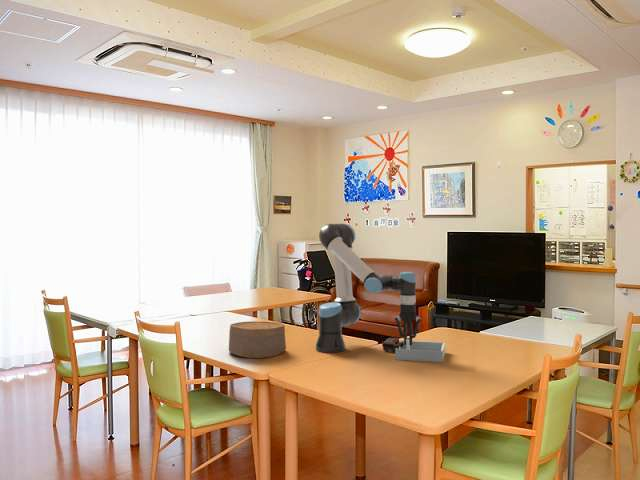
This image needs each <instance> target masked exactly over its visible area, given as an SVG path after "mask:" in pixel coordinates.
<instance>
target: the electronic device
mask: <svg viewBox="0 0 640 480" xmlns="http://www.w3.org/2000/svg"><path fill="white" fill-rule="evenodd" d="M381 346H382V349H383V351H385V352H390V353H393V352H394V353H395V349H396V348H398V349H400V347H403V343H401V342H400V338H396V337H388V338H387V339H385V340H384V341H383V342H382V343H381Z"/></svg>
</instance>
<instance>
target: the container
mask: <svg viewBox="0 0 640 480" xmlns="http://www.w3.org/2000/svg"><path fill="white" fill-rule="evenodd" d="M285 327H286V326H285V324H284V323H281V322H280V323H279V322H271V321H270V322H269V321H239V322H234V323H231V324H230V326H229V335H228V336H229V337H228V352H229V353H231V354H233V355H236V356H238V357H239V356H240V357H242V358H248V359H265V358H271V357H277V356H278V355H281V354H282V353H283V352H285V351H286V349H287V346H286V345H287V344H286V330H285V329H286V328H285Z"/></svg>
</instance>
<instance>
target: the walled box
mask: <svg viewBox="0 0 640 480" xmlns="http://www.w3.org/2000/svg"><path fill="white" fill-rule="evenodd" d="M399 342H401V343H403V347H399V349H398V348H396V349H395V352H394V353H395V354H394V355H395V356H394V357H395V360H397V361H398V360H400V361H401V360H402V361H413V362H414V361H417V362H418V361H419V362H429V363H431V362H432V363H444V359H445V354H446V343H445V342H438V341H421V340H420V341H419V340H417V341H416V340H412V345H410V349H406V345H404V340H403V339H402V340H399Z"/></svg>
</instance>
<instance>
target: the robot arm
mask: <svg viewBox="0 0 640 480" xmlns="http://www.w3.org/2000/svg"><path fill="white" fill-rule="evenodd" d="M318 237H319V238H318V239H319V242H320V243H321V245H322V246H323V247H324V249H326V250H327V252H329V253H332V254H333V264H334V266H333V267H334V277H335V290H336V297H335V299H334V300H333V301H332V302H326V303H325V302H324V303H323V304H320V306H319V308H318V338H317V340H316V343H315V351H316V352H320V353H341V352H344V351H346V342H345V340H344V338H343V333H342V331H343V329H342V328H343V327H345V326H350V325H353V324H355V323H357V322H358V321H359V319H360V318H361V315H362V310H361V307H360V305H359V304H358V303H357V299H356V298H355V297H354V296H353V282H352V273H353V274H354V276H356V277H357V278H358V279H359V280H360V281H361V283H363V284H364V289H365V291H366V292H367V293H369V294H379V293H384V292H388V291H394V292H399V293H400V294H399V301H400V304H399V308H400V309H399V314H398V316H395V318H394V320H395V322H396V325H397V328H398V334H399V336H400V338H403V341H404V345H406V349H410V345H412V341H413V339H414V338H416V337H417V333H418V330H419V324H420V322H421V321H422V318H421V317H419V316H418V315H417V313H416V312H417V309H416V307H417V305H416V302H417V301H416V299H417V296H416V295H417V294H416V286H417V285H416V283H417V281H416V274H415V272H414V271H402V272H400V273H399V275H392V274H390V275H389V274H382V275H378V274H377V273H376V272H374V270H372V268H370V266H369V265H367V263H365V262H364V261H363V260H362V258H360V257H359V256H358V255H357V254H356V253H355V252H354V251H353V244H354V242H355V240H356V233H355V229H354V228H353V227H352V226H351V225H350V224H348V223H326V224H324V225H323V226H322V227H321V228H320V230H319V233H318ZM401 321H402V322H403V328H402V324H401ZM414 321H416V323H415V325H414V331H413V322H414ZM408 331H409V332H408ZM408 333H409V334H408Z"/></svg>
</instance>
